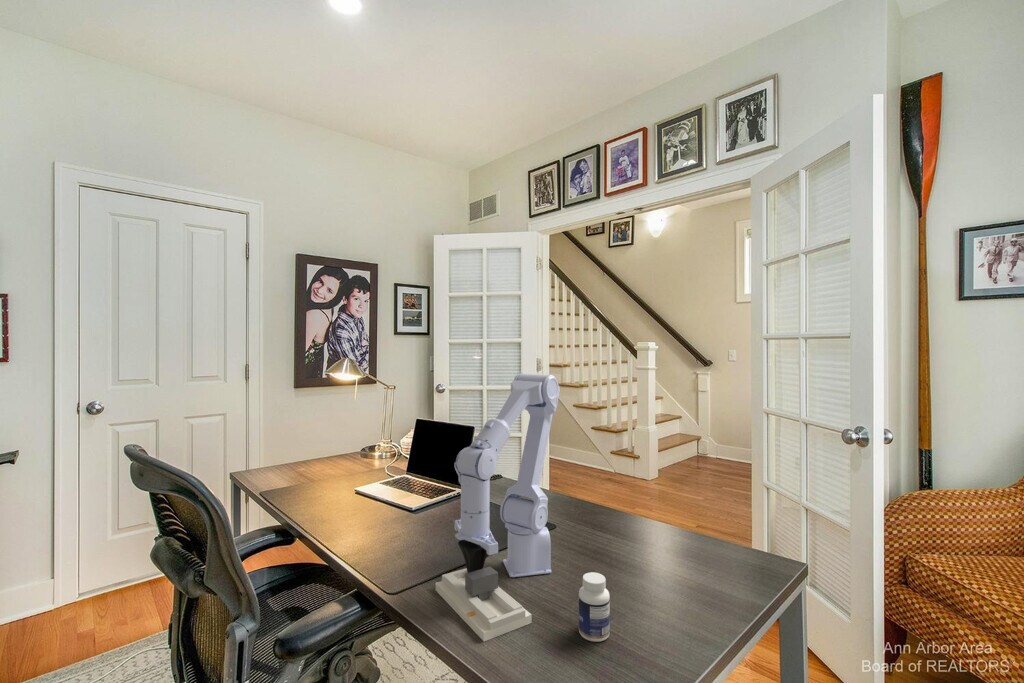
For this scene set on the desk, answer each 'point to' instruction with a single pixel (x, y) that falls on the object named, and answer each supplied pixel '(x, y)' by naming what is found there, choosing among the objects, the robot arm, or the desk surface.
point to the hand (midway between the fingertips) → (474, 577)
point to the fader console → (483, 607)
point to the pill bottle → (594, 608)
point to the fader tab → (481, 582)
